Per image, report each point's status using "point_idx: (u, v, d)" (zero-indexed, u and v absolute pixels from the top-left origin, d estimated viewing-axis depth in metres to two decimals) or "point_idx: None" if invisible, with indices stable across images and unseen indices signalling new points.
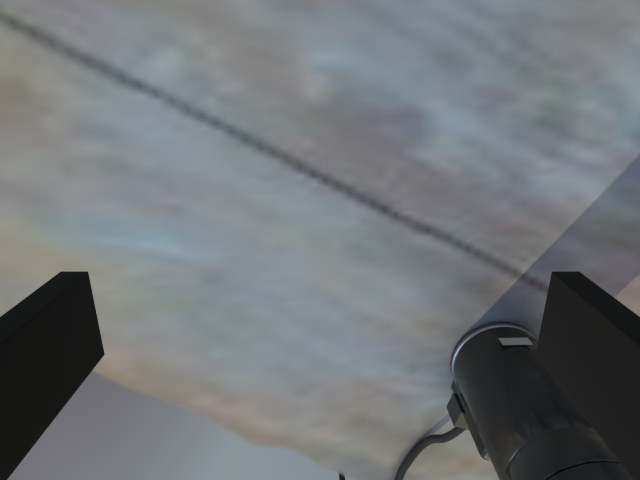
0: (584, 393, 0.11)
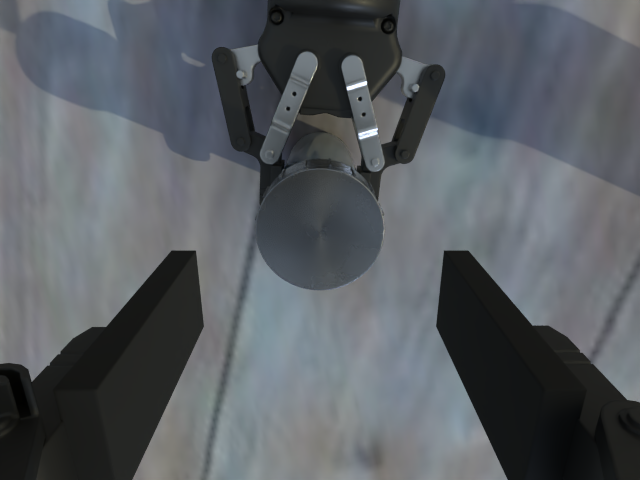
0: (459, 355, 0.12)
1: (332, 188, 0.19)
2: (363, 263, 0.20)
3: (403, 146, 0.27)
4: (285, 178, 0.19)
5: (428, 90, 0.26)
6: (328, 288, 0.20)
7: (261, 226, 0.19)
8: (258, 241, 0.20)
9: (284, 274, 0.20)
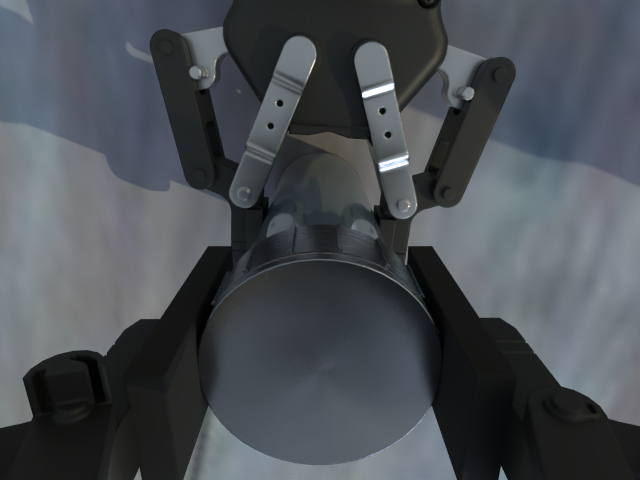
0: None
1: (344, 295, 0.10)
2: (401, 422, 0.11)
3: (446, 182, 0.18)
4: (251, 277, 0.09)
5: (488, 97, 0.17)
6: (336, 462, 0.11)
7: (208, 362, 0.10)
8: (204, 386, 0.10)
9: (254, 440, 0.11)
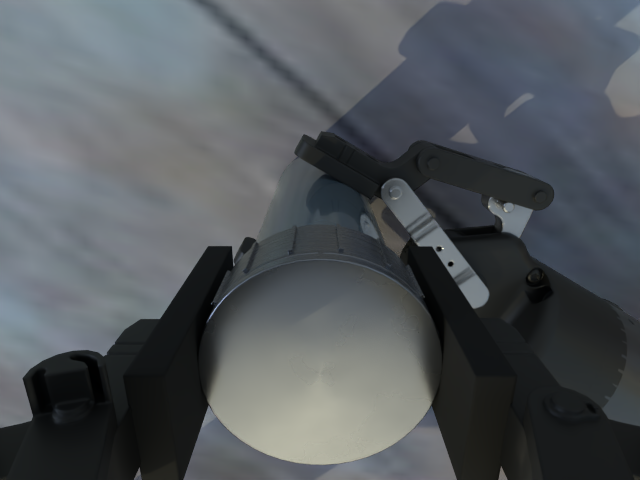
0: None
1: (345, 295, 0.10)
2: (400, 423, 0.11)
3: None
4: (252, 276, 0.09)
5: None
6: (336, 462, 0.11)
7: (208, 362, 0.10)
8: (204, 386, 0.10)
9: (254, 440, 0.11)
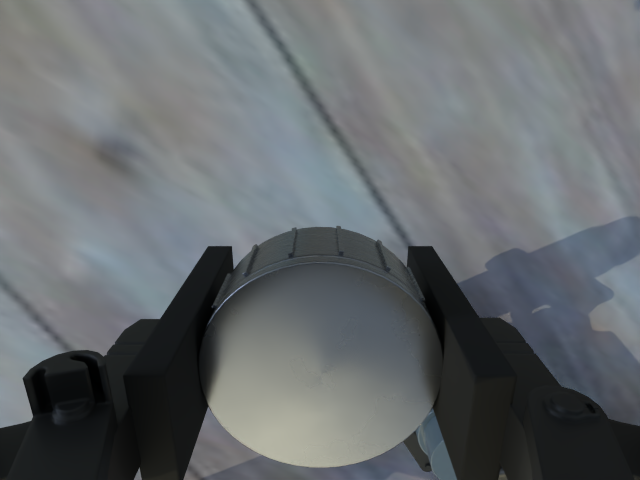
0: None
1: (345, 298, 0.10)
2: (401, 425, 0.11)
3: None
4: (252, 280, 0.09)
5: (423, 459, 0.38)
6: (337, 465, 0.11)
7: (209, 366, 0.10)
8: (204, 389, 0.10)
9: (255, 443, 0.11)
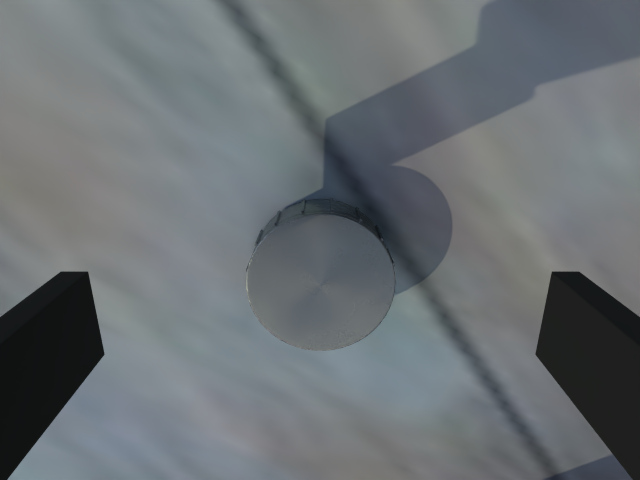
0: (584, 393, 0.11)
1: (335, 236, 0.16)
2: (370, 320, 0.17)
3: None
4: (280, 225, 0.16)
5: None
6: (330, 348, 0.18)
7: (252, 280, 0.17)
8: (249, 296, 0.17)
9: (279, 333, 0.17)
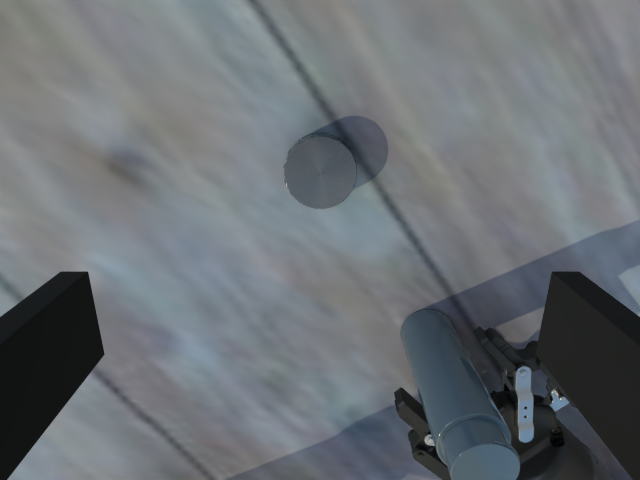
0: (584, 393, 0.11)
1: (327, 148, 0.34)
2: (345, 192, 0.35)
3: (425, 457, 0.38)
4: (301, 142, 0.34)
5: None
6: (325, 207, 0.35)
7: (287, 170, 0.34)
8: (285, 179, 0.35)
9: (300, 199, 0.35)
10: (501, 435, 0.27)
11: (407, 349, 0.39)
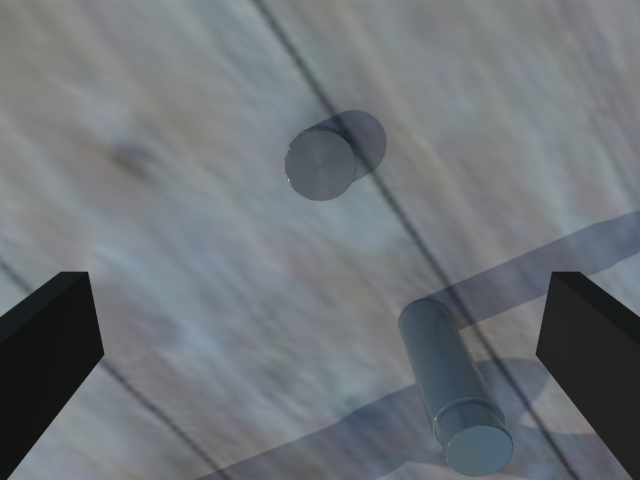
0: (584, 393, 0.11)
1: (327, 141, 0.35)
2: (344, 184, 0.36)
3: None
4: (301, 136, 0.35)
5: None
6: (325, 199, 0.36)
7: (288, 163, 0.35)
8: (286, 172, 0.36)
9: (300, 191, 0.36)
10: (494, 417, 0.28)
11: (405, 338, 0.40)
